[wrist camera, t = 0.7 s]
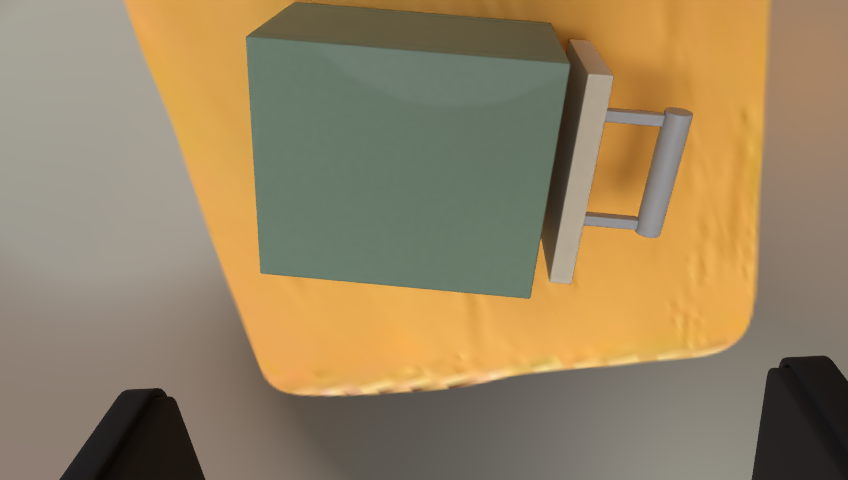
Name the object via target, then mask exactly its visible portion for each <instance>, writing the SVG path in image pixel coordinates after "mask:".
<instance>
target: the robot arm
mask: <svg viewBox="0 0 848 480" xmlns="http://www.w3.org/2000/svg"><path fill="white" fill-rule="evenodd" d="M60 480H205V477H204V475H203V472H202V469H201V467H200V464H199V461H198V459H197V456H196V453H195V451H194V448H193V445H192V443H191V440H190V437H189V434H188V432H187V429H186V426H185V424H184V421H183V418H182V416H181V413H180V410H179V408H178V405H177V402H176V401H175V399H174V398H173V397H167V395H166V393H165V392H164V391H163V390H162V389H159V388H154V389H132V390H125V391H123V392H122V393H121V394H120V395H119V396H118V397H117V399H116V400H115V402H114V403H113V405H112V406H111V407H110V409H109V410H108V412H107V413H106V414H105V416H104V417H103V419H102V420H101V422H100V423H99V425H98V426H97V427H96V429H95V430H94V432H93V433H92V434H91V436H90V437H89V439H88V440H87V441H86V443H85V444H84V446H83V447H82V448H81V450H80V451H79V453H78V454H77V456H76V457H75V459H74V460H73V461H72V463H71V464H70V466H69V467H68V468H67V470H66V471H65V473H64V474H63V475H62V477H61V478H60ZM752 480H848V381H847V380H846V378H845V377H844V376H843V374H842V373H841V372H840V370H839V369H838V368H837V366H836V365H835V364H834V362H833V361H832V360H831V359H830V358H828V357H826V356H808V357H787V358H783V359H782V361H781V362H780V365H779V368H771V369H770V370H769V371H768V375H767V380H766V388H765V394H764V401H763V407H762V415H761V421H760V428H759V434H758V441H757V449H756V455H755V462H754V469H753V475H752Z"/></svg>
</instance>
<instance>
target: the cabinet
mask: <svg viewBox="0 0 848 480" xmlns="http://www.w3.org/2000/svg"><path fill="white" fill-rule="evenodd" d="M246 46H247V62H248V78H249V94H250V111H251V127H252V143H253V159H254V175H255V191H256V207H257V224H258V240H259V256H260V272H261V273H262V274H272V275H283V276H293V277H304V278H315V279H325V280H336V281H347V282H357V283H368V284H379V285H389V286H400V287H411V288H421V289H432V290H442V291H453V292H464V293H474V294H485V295H496V296H506V297H517V298H528V299H529V298H530V296H531V291H532V285H533V279H534V273H535V268H536V262H537V256H538V250H539V244H540V239H541V233H542V227H543V221H544V216H545V210H546V204H547V198H548V193H549V187H550V181H551V175H552V169H553V164H554V158H555V152H556V146H557V141H558V135H559V129H560V123H561V118H562V112H563V106H564V100H565V94H566V89H567V83H568V77H569V71H570V66H571V64H570V62H569V60H568V58H567V56H566V54H565V51H564V49H563V47H562V45H561V43H560V41H559V39H558V37H557V35H556V33H555V31H554V29H553V27H552V25H551V24H550V23H542V22H530V21H518V20H506V19H494V18H482V17H469V16H457V15H445V14H433V13H421V12H409V11H397V10H384V9H372V8H360V7H348V6H336V5H324V4H312V3H299V2H294V3H293V4H291V5H290V6H288V7H287V8H285V9H284V10H283V11H281V12H280V13H278V14H277V15H276V16H274V17H273V18H271V19H270V20H269V21H267V22H266V23H264V24H263V25H262V26H260V27H259V28H257V29H256V30H255V31H253V32H252V33H250V34H249V35H248V36H246Z"/></svg>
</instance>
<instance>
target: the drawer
mask: <svg viewBox="0 0 848 480" xmlns="http://www.w3.org/2000/svg"><path fill="white" fill-rule="evenodd" d="M566 56H567V58H568V60H569V62H570V64H571V66H570V71H569V77H568V83H567V89H566V94H565V100H564V106H563V112H562V118H561V123H560V129H559V135H558V141H557V146H556V152H555V158H554V164H553V169H552V175H551V181H550V187H549V193H548V198H547V204H546V210H545V216H544V221H543V227H542V233H541V238H542V243H543V249H544V255H545V260H546V266H547V271H548V277H549V282H553V283H564V284H571V282H572V278H573V273H574V268H575V263H576V258H577V253H578V249H579V244H580V239H581V234H582V229H583V225H588V226H599V227H610V228H621V229H632V230H635V231H636V232H637V233H638V234H639V235H641V236H644V237H649V238H656V237H658V236H660V234H661V230H662V227H663V223H664V219H665V216H666V212H667V208H668V205H669V201H670V197H671V194H672V190H673V186H674V183H675V179H676V175H677V172H678V168H679V164H680V161H681V157H682V153H683V150H684V146H685V142H686V139H687V135H688V131H689V128H690V124H691V120H692V117H693V113H692V112H690V111H688V110H686V109H682V108H676V107H670V108H666V109H665V110H664V114H663V113H662V112H653V111H641V110H629V109H618V108H608V103H609V99H610V94H611V89H612V84H613V79H614V75H613V74H612V72H611V71H610V69H609V68H608V66H607V65H606V63H605V62H604V60H603V59H602V57H601V56H600V55H599V53H598V52H597V50H596V49H595V47H594V46H593V44H592V43H591V41H587V40H575V39H569V43H568V49H567V55H566ZM605 122H613V123H625V124H636V125H648V126H659V127H660V130H659V134H658V138H657V142H656V146H655V150H654V154H653V158H652V162H651V166H650V170H649V174H648V178H647V182H646V186H645V190H644V194H643V198H642V202H641V206H640V210H639V214H638V218H637V217H636V216H628V215H616V214H605V213H594V212H586V210H587V205H588V200H589V195H590V191H591V186H592V181H593V176H594V171H595V166H596V162H597V157H598V152H599V147H600V142H601V137H602V132H603V128H604V123H605Z"/></svg>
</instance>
